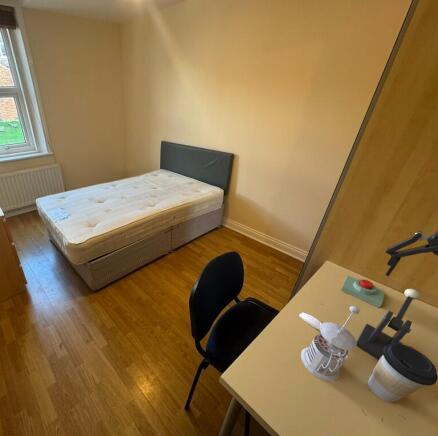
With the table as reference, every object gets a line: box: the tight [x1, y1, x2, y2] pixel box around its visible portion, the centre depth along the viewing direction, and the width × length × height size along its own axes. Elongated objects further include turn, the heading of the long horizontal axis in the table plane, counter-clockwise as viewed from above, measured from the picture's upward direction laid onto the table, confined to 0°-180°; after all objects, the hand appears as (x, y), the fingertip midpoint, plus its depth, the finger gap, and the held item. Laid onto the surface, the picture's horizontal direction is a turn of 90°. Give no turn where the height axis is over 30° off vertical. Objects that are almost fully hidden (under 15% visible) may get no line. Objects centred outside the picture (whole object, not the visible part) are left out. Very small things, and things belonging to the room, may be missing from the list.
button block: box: [340, 275, 386, 309], centre depth 91 cm, size 12×9×4 cm
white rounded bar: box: [299, 312, 324, 331], centre depth 80 cm, size 3×8×3 cm, turn 36°
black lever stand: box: [356, 310, 413, 361], centre depth 70 cm, size 11×9×13 cm
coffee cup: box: [367, 343, 438, 404], centre depth 59 cm, size 9×9×15 cm
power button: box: [360, 279, 374, 289], centre depth 90 cm, size 4×4×2 cm
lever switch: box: [387, 288, 421, 332], centre depth 70 cm, size 15×3×3 cm, turn 127°
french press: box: [300, 305, 360, 382], centre depth 62 cm, size 10×12×25 cm
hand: (417, 286), depth 70 cm, fingers open, 13 cm apart
